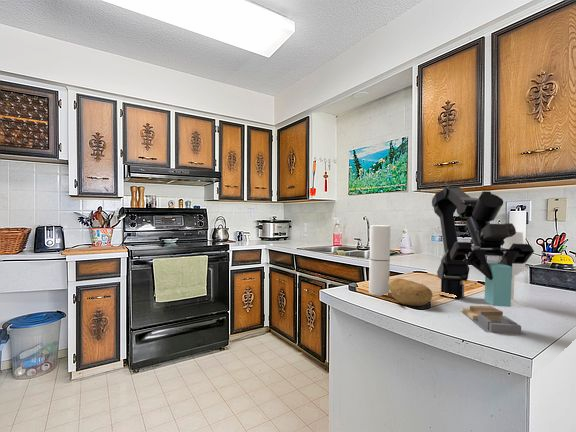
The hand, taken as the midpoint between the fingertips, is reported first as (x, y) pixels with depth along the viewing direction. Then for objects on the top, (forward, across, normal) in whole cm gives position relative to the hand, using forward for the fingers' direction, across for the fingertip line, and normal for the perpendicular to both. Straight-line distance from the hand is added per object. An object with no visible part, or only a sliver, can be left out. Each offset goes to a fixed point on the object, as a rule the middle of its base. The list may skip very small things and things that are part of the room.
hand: (500, 279), depth 76 cm
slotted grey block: (+6, 0, +13) cm, 14 cm away
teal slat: (+4, 0, +6) cm, 7 cm away
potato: (-3, -17, +23) cm, 29 cm away
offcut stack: (+3, 0, +15) cm, 15 cm away
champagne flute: (-9, +16, +28) cm, 34 cm away
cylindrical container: (-12, -25, +32) cm, 43 cm away
